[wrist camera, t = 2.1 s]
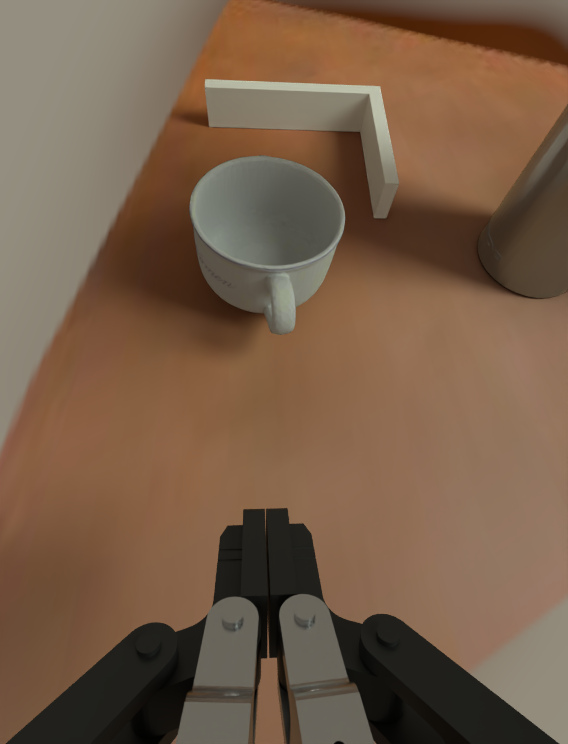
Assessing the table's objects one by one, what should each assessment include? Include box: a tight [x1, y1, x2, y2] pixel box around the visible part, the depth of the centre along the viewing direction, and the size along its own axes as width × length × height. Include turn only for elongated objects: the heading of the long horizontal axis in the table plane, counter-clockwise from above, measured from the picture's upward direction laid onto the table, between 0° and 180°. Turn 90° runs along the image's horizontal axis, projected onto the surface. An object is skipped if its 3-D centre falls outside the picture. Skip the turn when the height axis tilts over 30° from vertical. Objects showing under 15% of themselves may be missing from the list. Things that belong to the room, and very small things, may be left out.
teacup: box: [189, 155, 345, 335], centre depth 32 cm, size 14×11×8 cm
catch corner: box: [205, 79, 399, 218], centre depth 41 cm, size 17×13×4 cm
